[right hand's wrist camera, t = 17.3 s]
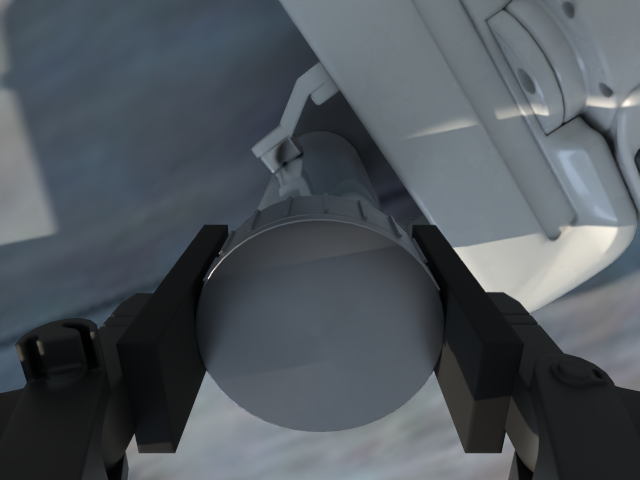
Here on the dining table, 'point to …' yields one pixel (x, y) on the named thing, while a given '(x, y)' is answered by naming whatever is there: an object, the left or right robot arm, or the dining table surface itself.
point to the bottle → (322, 172)
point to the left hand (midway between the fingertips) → (305, 216)
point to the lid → (320, 315)
